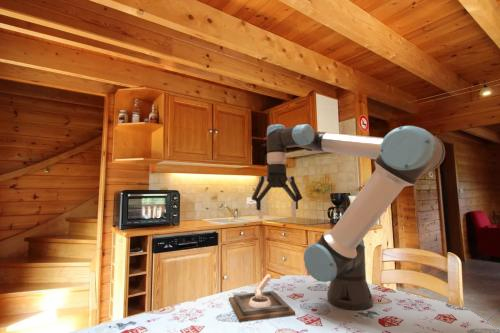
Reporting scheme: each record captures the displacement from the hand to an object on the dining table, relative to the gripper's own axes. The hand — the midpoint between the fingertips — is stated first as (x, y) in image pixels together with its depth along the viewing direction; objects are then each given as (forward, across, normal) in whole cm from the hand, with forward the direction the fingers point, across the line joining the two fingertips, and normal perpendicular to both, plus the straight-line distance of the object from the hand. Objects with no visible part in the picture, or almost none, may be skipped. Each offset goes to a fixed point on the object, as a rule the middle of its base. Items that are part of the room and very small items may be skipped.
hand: (277, 218), depth 105 cm
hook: (+28, +10, +8) cm, 31 cm away
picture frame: (+29, +10, +8) cm, 31 cm away
